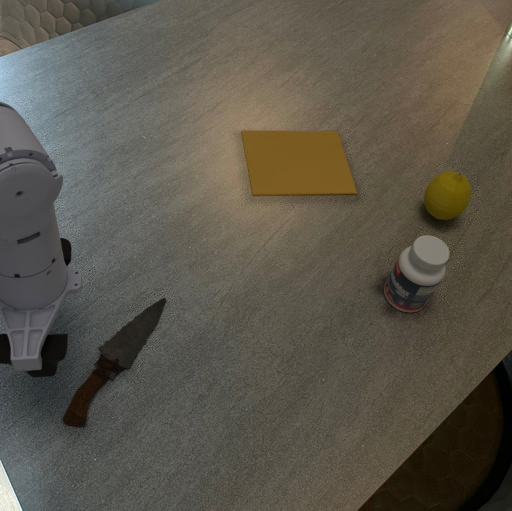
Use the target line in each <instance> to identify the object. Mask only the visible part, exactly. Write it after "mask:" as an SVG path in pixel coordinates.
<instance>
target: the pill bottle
mask: <svg viewBox="0 0 512 511" xmlns="http://www.w3.org/2000/svg"><path fill="white" fill-rule="evenodd" d="M450 253H451V252H450V249H449V247H448V245H447V243H445V241H443V240H441V238H439V237H436V236H434V235H431V234H429V235H428V234H425V235H421V236H419V237H417V238H416V239H415V240H414V242H413V243H412V245H410V246H408V247H406V248H404V249H403V250H402V251H401V253H400V255H399V256H398V258H397V259H396V261H395V264H394V265H393V267H392V269H391V271H390V273H389V275H388V277H387V279H386V280H385V282H384V285H383V294H384V297H385V299H386V301H387V302H388V303H389V305H391V307H393V308H394V309H396V310H398V311H400V312H403V313H416V312H419V311H421V310H423V309H424V308H425V307H426V305H427V304H428V302H429V301H430V299H431V298H432V296H433V295H434V293H435V292H436V290H437V289H438V287H439V285H440V284H441V282H442V281H443V280H444V277H445V275H446V264H447V262H448V260H449V259H450Z"/></svg>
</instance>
